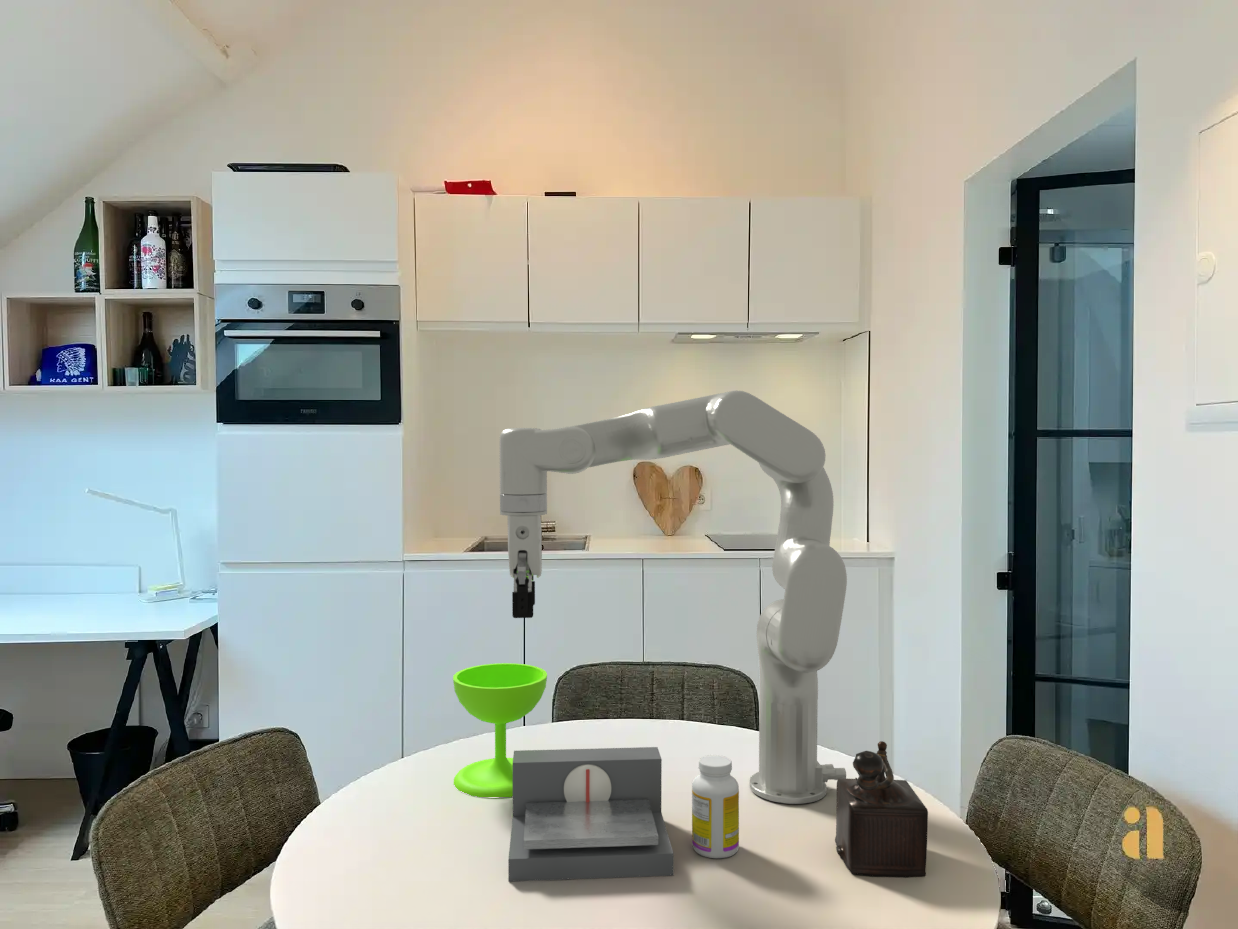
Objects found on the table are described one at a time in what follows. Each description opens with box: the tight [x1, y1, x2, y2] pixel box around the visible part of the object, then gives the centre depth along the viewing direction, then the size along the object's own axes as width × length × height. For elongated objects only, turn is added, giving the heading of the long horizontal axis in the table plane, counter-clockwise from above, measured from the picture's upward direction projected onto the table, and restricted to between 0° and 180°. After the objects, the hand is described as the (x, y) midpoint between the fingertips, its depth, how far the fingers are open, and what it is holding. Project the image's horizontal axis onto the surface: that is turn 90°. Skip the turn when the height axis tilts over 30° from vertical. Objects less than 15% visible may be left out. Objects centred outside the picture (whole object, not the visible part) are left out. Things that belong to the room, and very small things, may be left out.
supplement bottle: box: [691, 754, 740, 859], centre depth 126 cm, size 7×7×13 cm
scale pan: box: [524, 799, 658, 849], centre depth 124 cm, size 18×12×1 cm, turn 94°
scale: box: [507, 746, 674, 882], centre depth 126 cm, size 22×18×11 cm
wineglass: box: [452, 662, 548, 798], centre depth 151 cm, size 16×16×18 cm
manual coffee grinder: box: [834, 740, 929, 878], centre depth 120 cm, size 16×11×18 cm
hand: (524, 611), depth 142 cm, fingers open, 9 cm apart
